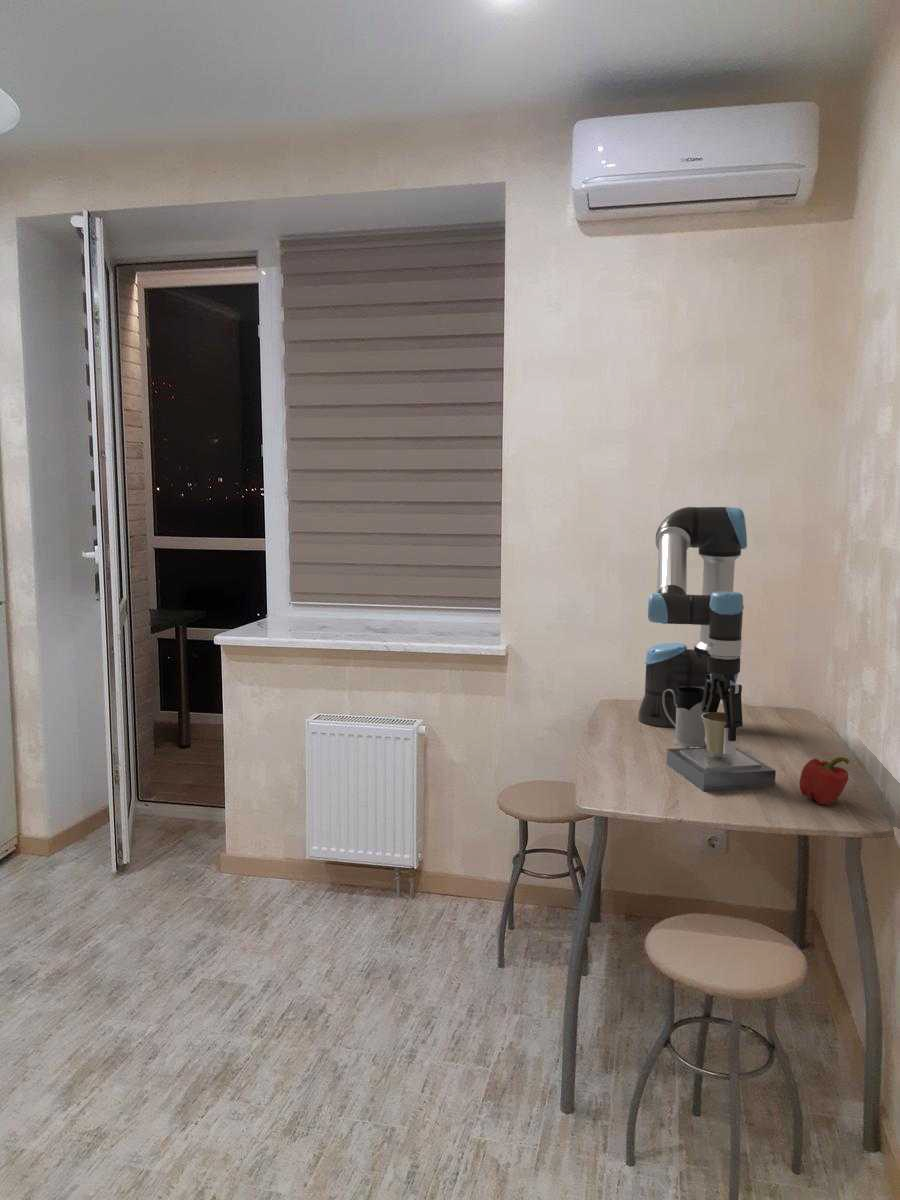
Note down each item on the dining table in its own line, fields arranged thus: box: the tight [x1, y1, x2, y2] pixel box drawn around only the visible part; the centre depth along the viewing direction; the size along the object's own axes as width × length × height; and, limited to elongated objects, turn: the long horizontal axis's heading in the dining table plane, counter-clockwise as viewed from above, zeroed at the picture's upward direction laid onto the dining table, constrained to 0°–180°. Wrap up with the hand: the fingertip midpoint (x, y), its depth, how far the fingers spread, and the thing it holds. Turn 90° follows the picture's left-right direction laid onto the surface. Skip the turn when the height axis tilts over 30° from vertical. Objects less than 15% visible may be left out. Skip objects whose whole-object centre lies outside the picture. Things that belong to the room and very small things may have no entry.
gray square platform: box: [666, 746, 777, 792], centre depth 209 cm, size 20×18×4 cm
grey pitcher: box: [662, 687, 707, 748], centre depth 237 cm, size 9×14×15 cm, turn 36°
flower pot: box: [701, 711, 739, 755], centre depth 208 cm, size 9×9×9 cm
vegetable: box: [799, 757, 851, 805], centre depth 192 cm, size 11×10×10 cm
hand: (719, 747), depth 208 cm, fingers closed on flower pot, 8 cm apart
